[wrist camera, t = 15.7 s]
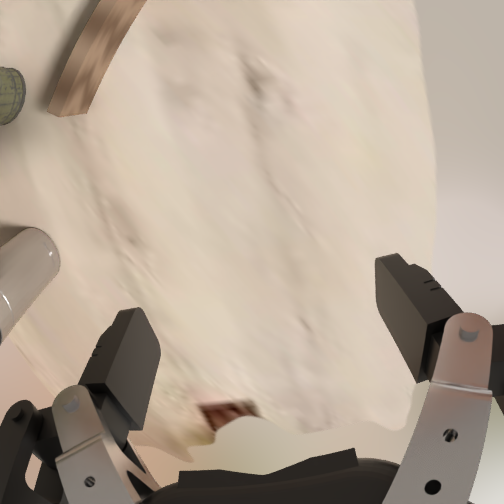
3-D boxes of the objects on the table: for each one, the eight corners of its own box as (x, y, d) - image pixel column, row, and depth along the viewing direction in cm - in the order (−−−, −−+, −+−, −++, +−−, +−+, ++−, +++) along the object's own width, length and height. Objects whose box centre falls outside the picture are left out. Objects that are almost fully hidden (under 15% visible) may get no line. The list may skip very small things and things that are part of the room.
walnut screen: (86, 113, 34) (59, 117, 28) (75, 108, 33) (46, 111, 27) (171, -35, 26) (158, -57, 20) (158, -38, 25) (143, -61, 19)
